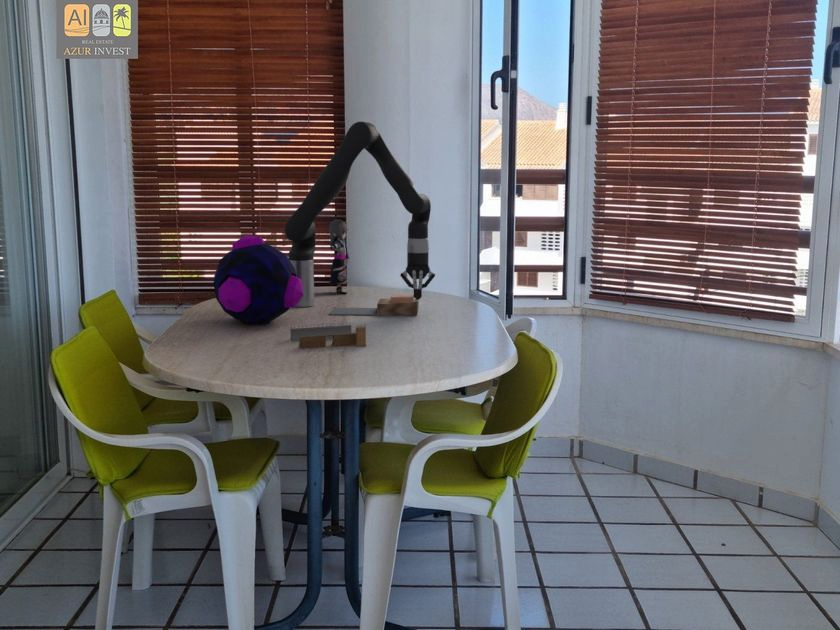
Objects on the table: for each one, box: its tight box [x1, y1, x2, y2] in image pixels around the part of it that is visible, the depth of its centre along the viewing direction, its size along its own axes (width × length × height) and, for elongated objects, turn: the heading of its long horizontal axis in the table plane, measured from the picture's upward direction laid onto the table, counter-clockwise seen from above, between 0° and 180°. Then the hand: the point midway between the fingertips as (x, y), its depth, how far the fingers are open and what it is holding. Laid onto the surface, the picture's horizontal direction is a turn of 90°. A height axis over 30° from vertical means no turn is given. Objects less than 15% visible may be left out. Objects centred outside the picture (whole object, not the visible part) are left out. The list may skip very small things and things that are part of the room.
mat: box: [328, 307, 377, 317], centre depth 325 cm, size 16×14×1 cm
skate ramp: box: [290, 321, 367, 350], centre depth 267 cm, size 29×35×8 cm
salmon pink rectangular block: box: [390, 294, 415, 303], centre depth 323 cm, size 8×6×2 cm
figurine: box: [328, 219, 350, 294], centre depth 363 cm, size 17×8×30 cm, turn 179°
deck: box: [376, 298, 420, 316], centre depth 324 cm, size 14×12×4 cm
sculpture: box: [213, 234, 304, 326], centre depth 300 cm, size 30×29×30 cm
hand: (417, 299), depth 323 cm, fingers closed
